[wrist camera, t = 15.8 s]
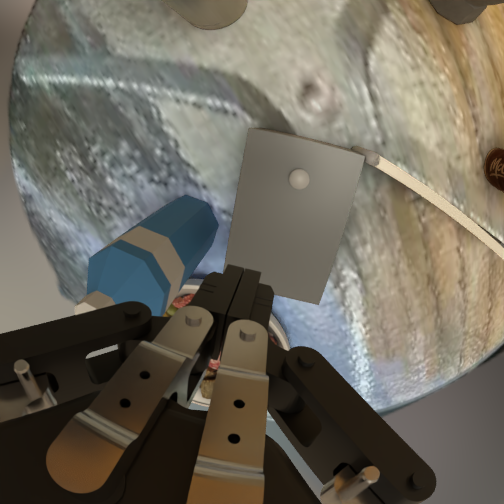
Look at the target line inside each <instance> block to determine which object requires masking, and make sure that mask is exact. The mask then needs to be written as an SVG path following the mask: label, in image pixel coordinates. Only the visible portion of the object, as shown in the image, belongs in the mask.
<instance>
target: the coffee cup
mask: <svg viewBox="0 0 504 504" xmlns="http://www.w3.org/2000/svg"><path fill="white" fill-rule="evenodd" d="M484 172H485V176H486V178H487V179H488V181H489V182H490V183H491V184H492V185H493V186H494V187H496V188H497V189H498V190H500V191H502V192H504V149H500V148H495V149H492V150H490V151H489V153H488V154H487V157H486V160H485V164H484Z"/></svg>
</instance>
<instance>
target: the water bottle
mask: <svg viewBox="0 0 504 504" xmlns="http://www.w3.org/2000/svg"><path fill="white" fill-rule="evenodd" d="M218 225H219V224H218V222H217V220H216V218H215V216H214V214H213V212H212V210H211V208H210V206H209V204H208V203H206V202H204V201H201V200H198V199H196V198H193V197H190V196H188V195H184V196H182V197H180V198H178V199H176V200H174V201H173V202H171V203H169V204H167V205H165V206H164V207H162V208H161V209H159V210H158V211H156V212H155V213H153V214H152V215H150V216H149V217H147V218H146V219H144V220H143V221H141V222H140V223H138V224H137V225H135V226H134V227H132V228H131V229H129V230H128V231H127V232H125V233H124V234H122V235H121V236H119V237H118V238H117V239H115V240H114V241H112V242H111V243H110V244H108V245H107V246H105V247H104V248H103V249H101V250H100V251H99V252H97V253H96V254H95V255H93V256H92V257H91V258H89V266H88V282H87V295H86V296H85V297H84V298H83V299H82V300H81V301H80V302H79V303H78V304H77V305H76V306H75V315H77V314H81V313H85V312H89V311H93V310H96V309H100V308H104V307H108V306H112V305H115V304H119V303H123V302H127V301H137V302H141V303H144V304H146V305H147V306H148V307H149V308H150V309H151V312H152V316H163V315H164V313H165V312H166V310H167V309H168V307H169V306H170V305H171V303H172V302H173V300H174V299H175V297H176V296H177V294H178V293H179V291H180V290H181V289H182V287H183V286H184V284H185V283H186V281H187V280H188V278H189V277H190V276H191V274H192V273H193V271H194V270H195V268H196V267H197V266H198V264H199V263H200V261H201V260H202V259H203V257H204V256H205V254H206V253H207V252H208V250H209V249H210V247H211V246H212V244H213V241H214V238H215V235H216V231H217V228H218Z"/></svg>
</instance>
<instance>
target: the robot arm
mask: <svg viewBox="0 0 504 504" xmlns="http://www.w3.org/2000/svg"><path fill="white" fill-rule="evenodd" d="M161 1H163V2H164V3H165V4H167V5H168V6H169V7H171V8H172V9H173V10H175V11H176V12H177V13H178V14H180V15H181V16H182V17H183V18H185V19H186V20H187V21H188V22H190V23H191V24H192V25H194V26H196V27H198V28H201V29H207V30H212V29H219V28H223V27H225V26H228V25H230V24H232V23H233V22H235V21H236V20H237V19H238V18H240V16H241V15H242V14H243V13H244V11H245V9H246V6H247V0H161ZM261 273H262V272H260V271H256V270H251V269H247V268H245V271H244V268H243V267H239V266H235V265H231V264H228V265H227V267H226V269H225V271H224V273H223V274H221V273H217V272H212V273H211V274H209V275H207V276H206V277H205V278H204V280H203V282H202V284H201V285H200V287H199V289H198V290H197V292H196V293H195V295H194V297H193V298H192V300H191V302H190V303H189V305H188V306H185V307H182V308H180V309H178V310H177V311H176V312H175V313H174V315H173V316H170V317H162V316H152V312H151V309H150V308H149V307H148V306H147V305H146V304H144V303H141V302H137V301H127V302H123V303H119V304H115V305H112V306H108V307H104V308H100V309H96V310H93V311H89V312H85V313H81V314H77V315H74V316H70V317H66V318H62V319H58V320H54V321H50V322H46V323H42V324H39V325H34V326H30V327H27V328H22V329H18V330H14V331H10V332H6V333H2V334H0V504H322V503H323V504H419V503H421V502H422V501H424V500H426V499H427V498H429V497H430V496H431V495H432V493H433V492H434V490H435V487H436V477H435V474H434V472H433V470H432V469H431V468H430V467H429V466H428V465H427V464H426V463H425V462H424V461H423V460H422V459H421V458H420V457H419V456H418V455H417V454H416V453H415V452H414V451H413V450H412V449H411V448H410V447H409V446H408V444H407V443H405V441H403V439H402V438H401V437H399V435H398V434H397V433H396V432H395V431H394V430H393V429H392V428H391V427H390V426H389V425H388V424H387V423H386V422H385V421H384V420H383V419H382V418H381V417H380V416H379V415H378V414H377V413H376V412H375V411H374V410H373V409H372V407H371V406H370V405H369V404H368V403H367V402H366V401H365V400H364V399H363V398H362V397H361V396H360V395H359V394H358V393H357V392H356V391H355V390H354V389H353V388H352V387H351V386H350V384H349V383H348V382H347V381H346V380H345V379H344V378H343V377H342V376H341V375H340V374H339V373H338V372H337V371H336V370H335V369H334V368H333V367H332V365H331V364H330V363H329V362H328V361H327V360H326V359H325V358H324V357H323V356H322V355H321V354H320V353H319V352H317V351H316V350H314V349H312V348H309V347H304V346H298V347H294V348H291V349H290V350H289V351H287V350H285V349H283V348H281V347H279V346H277V345H276V344H275V343H274V342H273V341H272V340H271V339H270V337H269V335H268V326H269V321H270V315H271V310H272V304H273V298H274V291H273V289H272V287H271V286H270V285H266V284H262V283H259V282H260V277H261ZM116 344H117V345H118V349H117V350H114V351H111V352H107V353H104V354H101V355H98V356H95V357H91V358H88V359H85V358H86V356H87V355H88V354H89V353H91V352H93V351H97V350H100V349H103V348H106V347H109V346H113V345H116ZM220 352H221V353H220ZM219 355H220V359H219V361H220V365H219V367H218V371H217V375H216V379H215V384H214V388H213V392H212V397H211V401H210V405H209V409H208V411H201V410H191V409H188V408H189V406H190V404H191V402H192V400H193V398H194V396H195V394H196V392H197V390H198V388H199V386H200V384H201V382H202V380H203V378H204V376H205V374H206V370H207V367H208V366H209V363H210V360H211V359H213V360H218V358H219ZM267 409H268V412H269V413H270V415H271V416H272V418H273V419H274V420H275V422H276V423H277V424H278V426H279V427H280V429H281V430H282V431H283V433H284V434H285V436H286V437H287V438H288V440H289V441H290V442H291V444H292V445H293V446H294V447H295V449H296V450H297V452H298V453H299V454H300V456H301V457H302V458H303V460H304V461H305V462H306V463H307V465H308V466H309V467H310V469H311V470H312V471H313V472H314V474H315V475H316V476H317V477H318V478H319V480H320V481H321V482H322V484H323V485H324V486H323V488H322V490H321V494H320V497H321V502H322V503H321V502H320V501H319V499H318V498H317V497H316V495H315V494H314V493H313V491H312V490H311V488H310V487H309V486H308V484H307V483H306V481H305V480H304V479H303V477H302V476H301V474H300V473H299V472H298V470H297V469H296V467H295V466H294V464H293V463H292V462H291V460H290V459H289V457H288V456H287V454H286V453H285V451H284V450H283V449H282V448H281V447H280V446H279V444H278V443H276V442H275V441H274V440H273V439H272V438H270V437H269V436H268V435H266V434H265V433H266V418H267Z"/></svg>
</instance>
